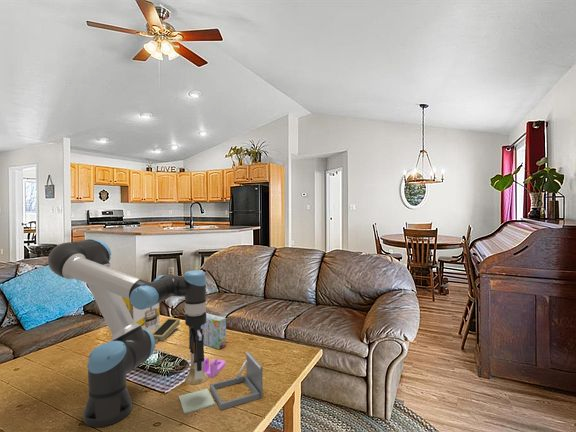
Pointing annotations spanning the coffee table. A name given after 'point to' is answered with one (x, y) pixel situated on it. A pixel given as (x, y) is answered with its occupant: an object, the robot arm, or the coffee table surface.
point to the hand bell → (191, 377)
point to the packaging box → (144, 315)
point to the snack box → (214, 331)
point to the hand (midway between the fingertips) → (196, 374)
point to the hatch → (251, 379)
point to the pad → (196, 400)
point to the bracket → (212, 366)
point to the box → (165, 329)
